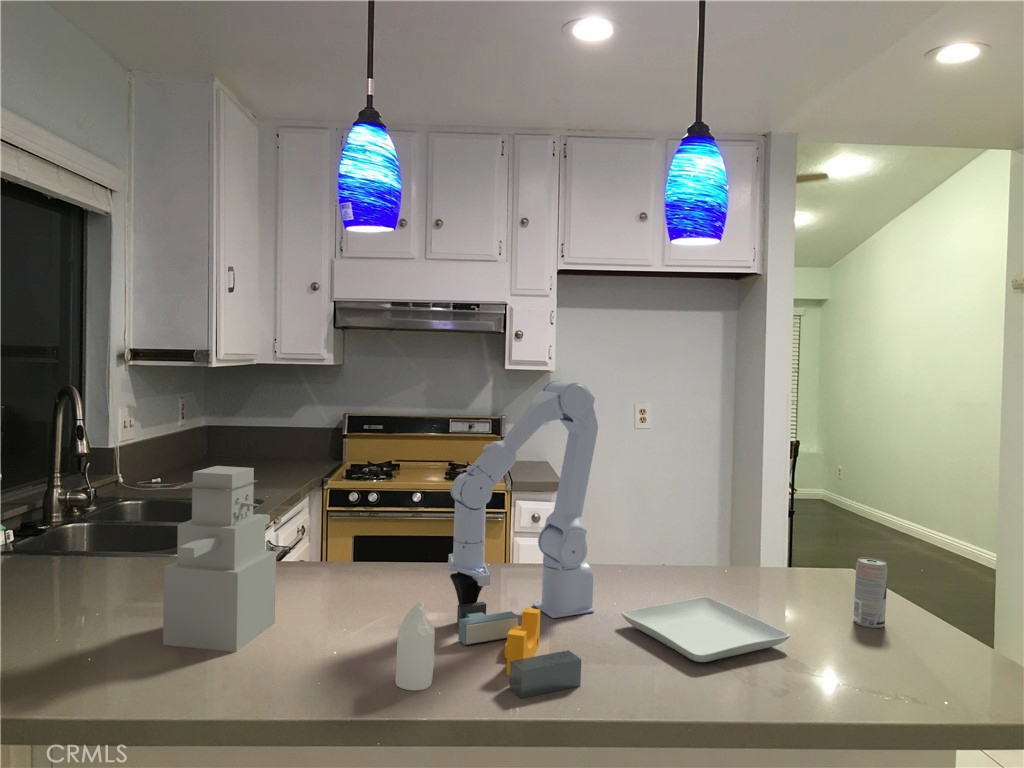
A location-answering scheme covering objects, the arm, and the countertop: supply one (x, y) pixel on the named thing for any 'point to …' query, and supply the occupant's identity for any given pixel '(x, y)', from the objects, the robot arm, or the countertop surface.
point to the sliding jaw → (483, 623)
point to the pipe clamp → (523, 638)
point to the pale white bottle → (415, 651)
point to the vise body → (545, 674)
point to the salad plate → (705, 628)
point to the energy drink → (870, 592)
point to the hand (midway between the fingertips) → (467, 613)
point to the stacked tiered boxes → (220, 566)
